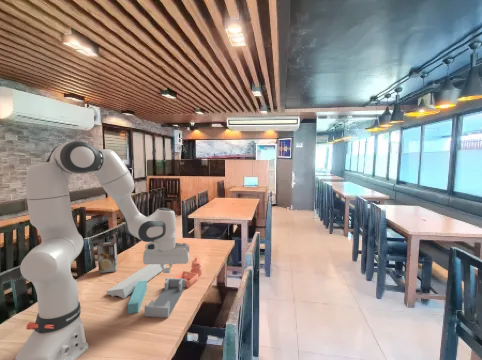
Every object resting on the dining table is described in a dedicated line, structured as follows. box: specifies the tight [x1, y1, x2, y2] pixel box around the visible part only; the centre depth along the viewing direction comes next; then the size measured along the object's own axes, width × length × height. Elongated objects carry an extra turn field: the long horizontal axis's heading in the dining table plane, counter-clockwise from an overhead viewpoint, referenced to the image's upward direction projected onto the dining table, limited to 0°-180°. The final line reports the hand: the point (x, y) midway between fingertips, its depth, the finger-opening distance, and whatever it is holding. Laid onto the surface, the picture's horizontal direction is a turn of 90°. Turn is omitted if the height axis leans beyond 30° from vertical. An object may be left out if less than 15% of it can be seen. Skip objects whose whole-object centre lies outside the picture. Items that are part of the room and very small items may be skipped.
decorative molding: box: [106, 264, 167, 299], centre depth 134 cm, size 34×5×10 cm
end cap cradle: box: [143, 277, 186, 319], centre depth 115 cm, size 25×10×5 cm, turn 177°
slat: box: [127, 281, 148, 314], centre depth 115 cm, size 20×4×5 cm, turn 11°
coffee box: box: [96, 241, 119, 274], centre depth 146 cm, size 9×6×16 cm
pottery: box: [173, 257, 203, 289], centre depth 136 cm, size 18×10×10 cm, turn 158°
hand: (166, 272), depth 114 cm, fingers closed
